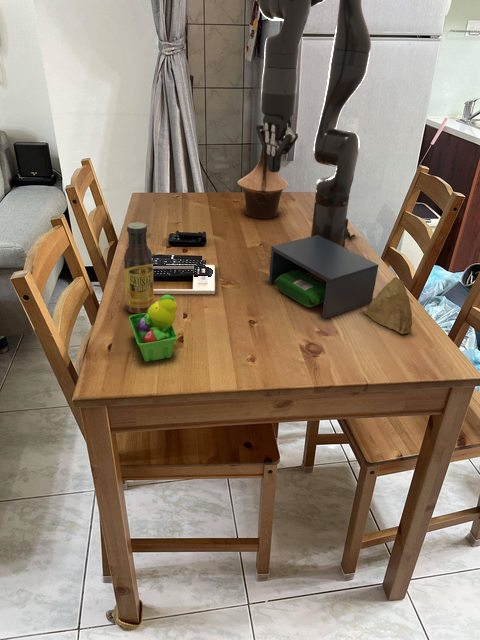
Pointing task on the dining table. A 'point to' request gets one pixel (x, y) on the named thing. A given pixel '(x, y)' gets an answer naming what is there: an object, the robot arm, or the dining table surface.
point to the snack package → (302, 287)
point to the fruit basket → (156, 329)
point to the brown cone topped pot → (262, 189)
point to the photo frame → (199, 283)
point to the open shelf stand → (328, 271)
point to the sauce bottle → (138, 270)
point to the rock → (392, 307)
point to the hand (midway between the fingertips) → (273, 171)
